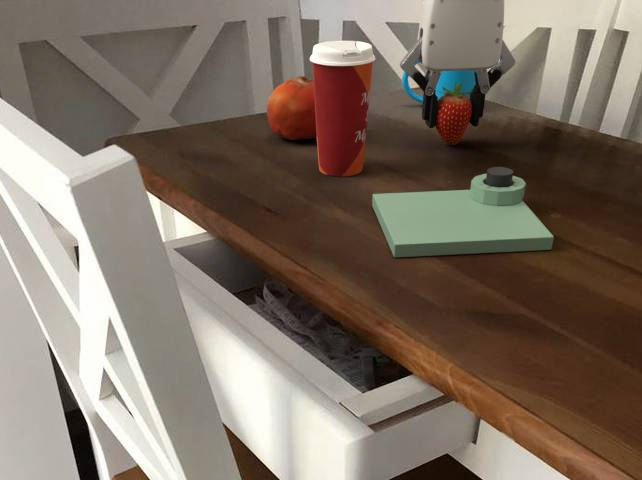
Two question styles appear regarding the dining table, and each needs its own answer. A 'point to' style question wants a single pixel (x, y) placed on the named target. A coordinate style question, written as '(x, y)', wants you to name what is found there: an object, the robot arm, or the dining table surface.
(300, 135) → the tomato
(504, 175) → the button
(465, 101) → the fruit
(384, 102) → the dining table surface
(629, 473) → the dining table surface
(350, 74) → the paper cup
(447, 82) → the mug
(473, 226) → the scale
